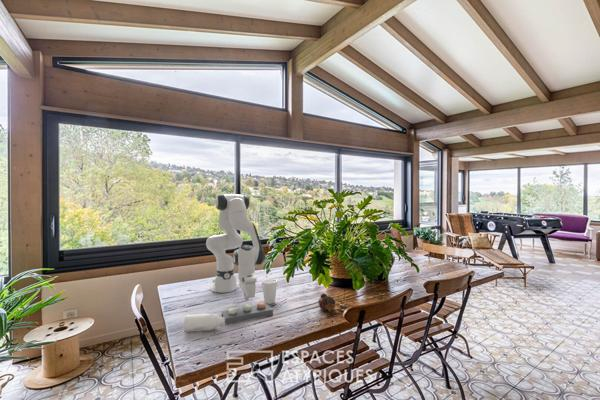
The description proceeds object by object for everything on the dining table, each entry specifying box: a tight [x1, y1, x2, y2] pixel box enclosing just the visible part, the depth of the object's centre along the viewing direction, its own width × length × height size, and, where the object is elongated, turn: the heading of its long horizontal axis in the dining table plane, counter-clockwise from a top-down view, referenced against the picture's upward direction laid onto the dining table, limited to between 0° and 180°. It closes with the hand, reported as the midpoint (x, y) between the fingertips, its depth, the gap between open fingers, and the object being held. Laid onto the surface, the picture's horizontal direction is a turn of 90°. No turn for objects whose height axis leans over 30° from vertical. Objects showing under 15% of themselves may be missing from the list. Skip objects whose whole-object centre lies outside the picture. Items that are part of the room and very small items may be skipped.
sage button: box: [242, 304, 253, 312], centre depth 156 cm, size 5×5×5 cm
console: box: [221, 303, 274, 326], centre depth 156 cm, size 10×26×3 cm, turn 116°
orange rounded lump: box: [256, 301, 266, 309], centre depth 159 cm, size 5×5×5 cm
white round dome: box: [227, 306, 238, 315], centre depth 152 cm, size 5×5×5 cm
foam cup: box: [261, 278, 278, 305], centre depth 176 cm, size 10×9×13 cm
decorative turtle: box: [318, 292, 336, 313], centre depth 163 cm, size 10×15×8 cm, turn 21°
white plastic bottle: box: [183, 313, 225, 333], centre depth 140 cm, size 8×19×8 cm, turn 95°
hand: (246, 300), depth 156 cm, fingers closed
